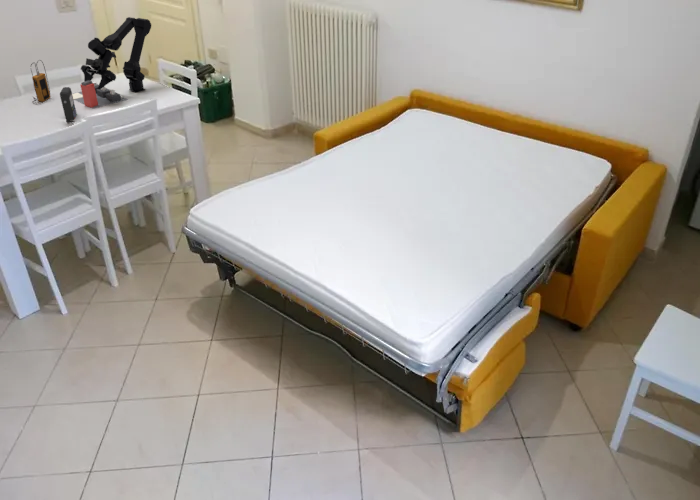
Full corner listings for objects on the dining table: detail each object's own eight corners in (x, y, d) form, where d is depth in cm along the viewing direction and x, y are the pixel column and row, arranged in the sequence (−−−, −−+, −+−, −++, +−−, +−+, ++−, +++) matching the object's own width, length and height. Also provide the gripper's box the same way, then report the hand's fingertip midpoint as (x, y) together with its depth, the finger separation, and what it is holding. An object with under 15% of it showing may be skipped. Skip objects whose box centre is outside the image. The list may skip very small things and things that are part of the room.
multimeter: (37, 93, 315) (27, 56, 304) (54, 95, 314) (45, 57, 303) (21, 103, 303) (10, 64, 292) (39, 104, 302) (28, 65, 291)
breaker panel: (100, 89, 324) (98, 78, 320) (129, 102, 309) (126, 90, 306) (61, 99, 309) (58, 87, 306) (89, 112, 295) (86, 100, 291)
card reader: (75, 123, 283) (67, 92, 275) (66, 123, 282) (58, 93, 274) (78, 116, 290) (71, 86, 282) (69, 116, 290) (62, 86, 281)
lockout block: (91, 103, 302) (86, 79, 295) (98, 104, 300) (93, 81, 294) (84, 105, 298) (79, 82, 292) (91, 107, 297) (86, 83, 290)
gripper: (79, 48, 295) (66, 76, 292) (107, 54, 288) (95, 82, 286) (94, 61, 305) (82, 87, 303) (121, 66, 299) (109, 93, 296)
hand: (91, 87), depth 297 cm, fingers open, 9 cm apart
